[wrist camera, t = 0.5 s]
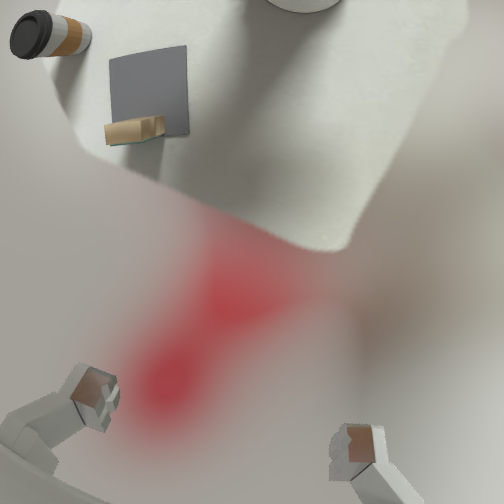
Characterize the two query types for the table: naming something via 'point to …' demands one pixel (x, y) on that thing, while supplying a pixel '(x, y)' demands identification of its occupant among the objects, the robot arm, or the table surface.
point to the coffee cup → (48, 36)
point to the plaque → (134, 130)
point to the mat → (151, 87)
